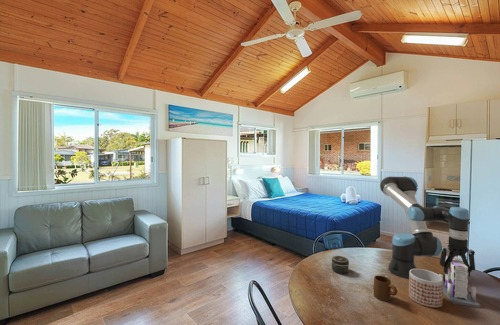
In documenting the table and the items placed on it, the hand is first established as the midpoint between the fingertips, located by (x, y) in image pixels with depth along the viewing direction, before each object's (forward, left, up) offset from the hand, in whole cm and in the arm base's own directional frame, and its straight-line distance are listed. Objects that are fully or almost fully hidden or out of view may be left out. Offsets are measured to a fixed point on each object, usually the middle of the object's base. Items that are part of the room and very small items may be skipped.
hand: (456, 281), depth 127 cm
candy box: (0, 0, -6) cm, 6 cm away
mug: (-36, -17, -7) cm, 41 cm away
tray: (0, 0, -7) cm, 7 cm away
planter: (-17, -11, -7) cm, 22 cm away
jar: (-56, +8, -7) cm, 58 cm away
